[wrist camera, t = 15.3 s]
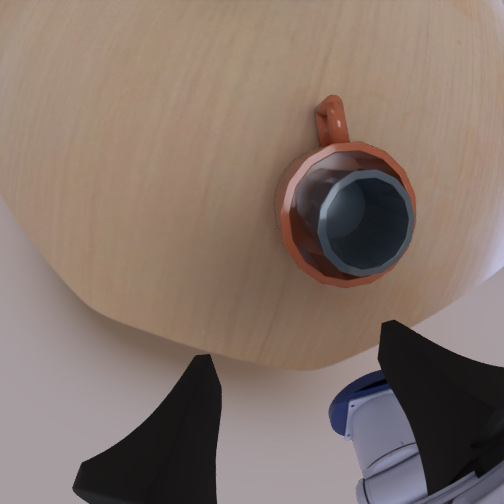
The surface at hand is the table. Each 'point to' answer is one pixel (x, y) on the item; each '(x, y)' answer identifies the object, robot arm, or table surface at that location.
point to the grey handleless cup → (357, 218)
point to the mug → (327, 156)
